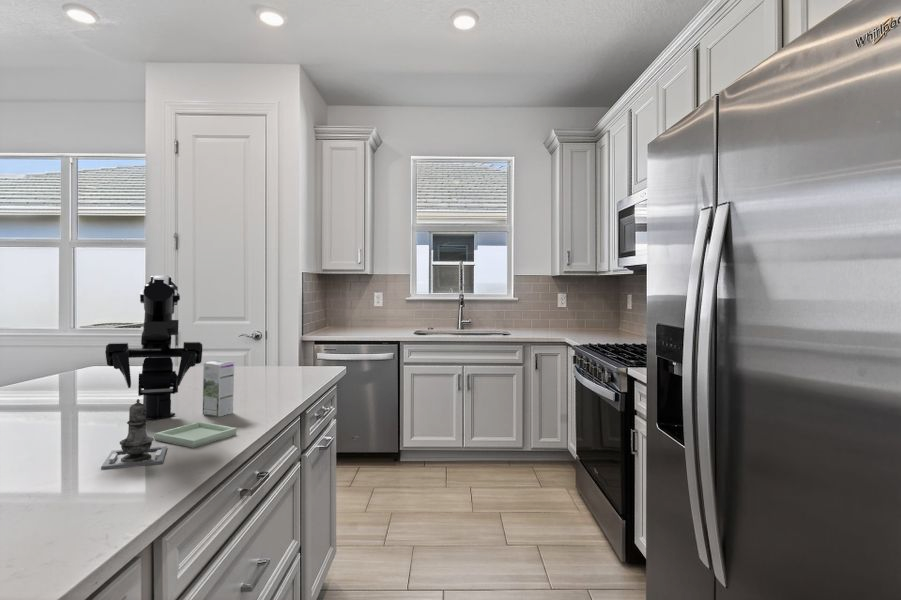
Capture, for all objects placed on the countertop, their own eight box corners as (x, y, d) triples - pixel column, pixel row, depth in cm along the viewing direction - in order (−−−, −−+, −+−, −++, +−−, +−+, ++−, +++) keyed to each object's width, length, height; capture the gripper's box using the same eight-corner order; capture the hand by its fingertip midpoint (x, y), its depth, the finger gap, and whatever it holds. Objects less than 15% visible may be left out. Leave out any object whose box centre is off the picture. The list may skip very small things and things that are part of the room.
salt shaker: (136, 464, 97) (138, 403, 97) (111, 461, 98) (113, 400, 98) (160, 455, 103) (161, 397, 103) (135, 452, 104) (137, 395, 104)
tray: (154, 439, 113) (154, 433, 113) (199, 427, 124) (199, 421, 124) (193, 447, 108) (193, 440, 108) (236, 434, 119) (236, 428, 119)
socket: (111, 453, 103) (111, 449, 103) (167, 448, 107) (167, 444, 107) (101, 469, 94) (101, 464, 94) (162, 463, 98) (162, 459, 98)
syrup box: (234, 413, 140) (235, 361, 140) (217, 417, 134) (219, 363, 134) (217, 410, 142) (219, 359, 141) (201, 415, 136) (202, 362, 136)
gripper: (107, 306, 108) (99, 367, 99) (203, 307, 117) (203, 364, 108) (111, 335, 116) (103, 395, 107) (201, 335, 124) (201, 390, 116)
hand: (154, 385), depth 109 cm, fingers open, 9 cm apart
